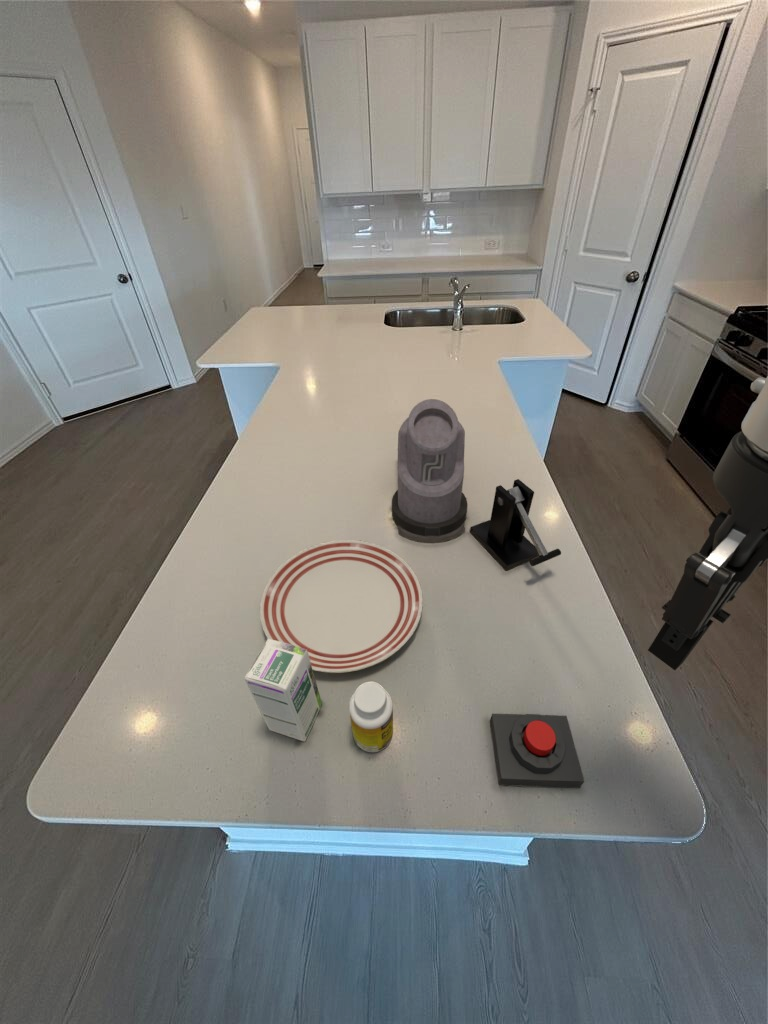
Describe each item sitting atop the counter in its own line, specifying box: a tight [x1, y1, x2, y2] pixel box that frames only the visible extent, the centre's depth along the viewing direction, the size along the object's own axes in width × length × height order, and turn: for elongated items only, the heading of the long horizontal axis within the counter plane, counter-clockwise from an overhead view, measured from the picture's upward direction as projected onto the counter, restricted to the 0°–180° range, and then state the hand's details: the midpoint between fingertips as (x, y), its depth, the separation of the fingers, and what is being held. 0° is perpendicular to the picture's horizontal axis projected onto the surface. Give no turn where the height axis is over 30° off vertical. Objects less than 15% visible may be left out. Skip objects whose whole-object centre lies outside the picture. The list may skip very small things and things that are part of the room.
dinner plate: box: [259, 539, 424, 674], centre depth 75 cm, size 28×27×3 cm
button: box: [523, 721, 556, 756], centre depth 55 cm, size 4×4×2 cm
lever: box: [506, 486, 562, 567], centre depth 78 cm, size 14×6×2 cm
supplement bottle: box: [348, 681, 394, 753], centre depth 57 cm, size 6×6×10 cm
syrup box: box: [243, 638, 323, 743], centre depth 58 cm, size 6×6×14 cm
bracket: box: [469, 478, 540, 572], centre depth 83 cm, size 12×8×14 cm, turn 26°
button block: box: [489, 713, 585, 789], centre depth 57 cm, size 10×8×4 cm
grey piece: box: [391, 398, 468, 544], centre depth 91 cm, size 30×16×24 cm, turn 0°
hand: (665, 656), depth 43 cm, fingers closed
